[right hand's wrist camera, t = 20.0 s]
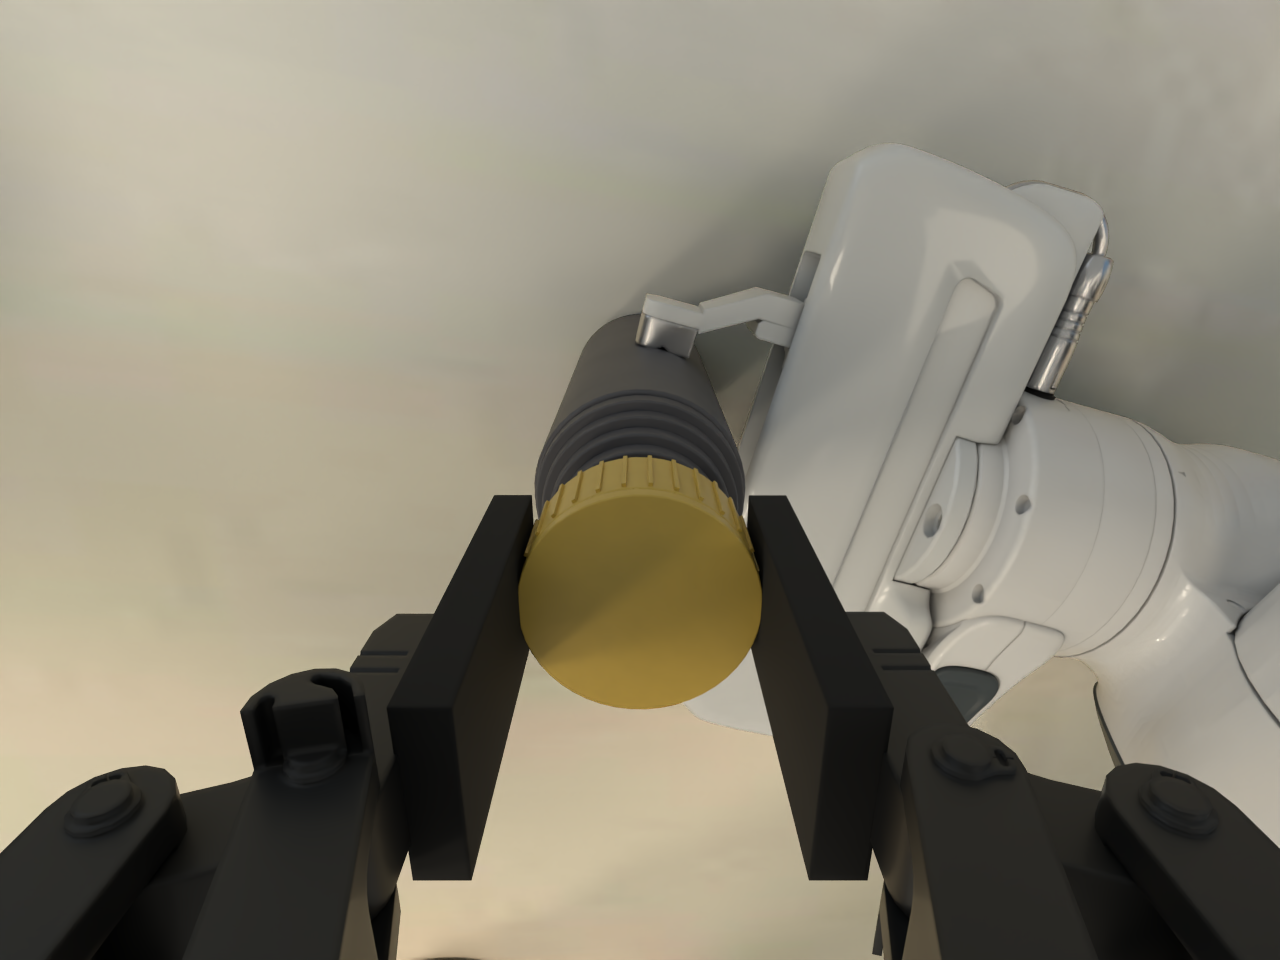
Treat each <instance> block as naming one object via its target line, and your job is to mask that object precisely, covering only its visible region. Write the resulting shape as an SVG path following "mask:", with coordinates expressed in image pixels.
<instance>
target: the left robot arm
mask: <svg viewBox="0 0 1280 960" xmlns="http://www.w3.org/2000/svg"><path fill="white" fill-rule="evenodd" d="M1092 241H1093V247H1092V252H1091V253H1087V252H1088V250H1089V248H1090V245H1091V243H1092ZM1108 243H1109V229H1108V223H1107V220H1106V218H1105V215H1104V212H1103V209H1102V207H1101V206H1100V205H1099V204H1098V203H1097V202H1095V201H1094V200H1093V199H1092V198H1090V197H1088V196H1087V195H1085V194H1083V193H1080V192H1077V191H1074V190H1071V189H1067V188H1064V187H1061V186H1058V185H1054V184H1051V183H1048V182H1045V181H1039V180H1027V181H1021V182H1017V183H1013V184H1011V185H1008V186H1006V187H1004V186H1002V185H1000V184H998V183H996V182H994V181H992V180H990V179H988V178H986V177H984V176H982V175H980V174H978V173H976V172H974V171H972V170H970V169H967V168H965V167H963V166H961V165H958V164H956V163H954V162H951V161H949V160H946V159H944V158H941V157H939V156H936V155H933V154H931V153H928V152H925V151H923V150H920V149H917V148H914V147H911V146H907V145H904V144H899V143H881V144H875V145H872V146H869V147H867V148H864V149H862V150H860V151H858V152H856V153H854V154H852V155H851V156H849V157H847V158H845V159H844V160H842V161H840V162H838V163H837V164H836V165H835V166H834V167H833V168H832V169H831V171H830V173H829V175H828V178H827V181H826V183H825V186H824V189H823V192H822V195H821V198H820V201H819V204H818V207H817V210H816V213H815V216H814V219H813V222H812V225H811V228H810V231H809V234H808V237H807V240H806V244H805V247H804V250H803V253H802V256H801V259H800V262H799V265H798V268H797V271H796V274H795V277H794V280H793V283H792V286H791V289H790V292H789V295H785V294H781V293H778V292H774V291H770V290H767V289H763V288H759V287H754V288H750V289H747V290H743V291H740V292H736V293H733V294H729V295H725V296H722V297H718V298H715V299H711V300H708V301H704V302H700V304H699V306H696V305H692V304H688V303H685V302H681V301H677V300H674V299H670V298H666V297H663V296H659V295H653V294H646V298H645V302H644V306H643V309H642V313H641V317H640V321H639V325H638V329H637V334H636V339H635V342H636V343H637V344H639V345H642V346H645V347H648V348H654V349H658V348H661V347H664V348H665V349H666V350H667V351H668V352H670V353H672V354H674V355H678V356H681V357H685V358H689V357H690V354H691V350H692V347H693V344H694V341H695V338H696V335H697V333H698V334H702V333H706V332H710V331H714V330H717V329H721V328H725V327H729V326H733V325H737V324H741V323H745V322H746V325H747V328H748V329H749V330H750V331H751V332H752V333H753V334H754V336H755V337H756V338H757V339H760V340H763V341H767V342H770V343H772V346H771V349H770V352H769V355H768V358H767V361H766V364H765V367H764V370H763V373H762V376H761V379H760V382H759V385H758V388H757V391H756V394H755V397H754V400H753V403H752V406H751V409H750V412H749V415H748V418H747V421H746V424H745V427H744V430H743V433H742V436H741V439H740V442H739V445H738V448H737V449H738V452H739V455H740V458H741V461H742V464H743V469H744V474H745V500H744V508H743V514H742V516H743V518H744V521H745V524H746V527H747V516H748V499H749V495H786V496H787V498H788V500H789V502H790V504H791V506H792V508H793V510H794V512H795V514H796V516H797V517H798V519H799V521H800V523H801V525H802V527H803V529H804V531H805V533H806V535H807V537H808V539H809V541H810V543H811V545H812V547H813V549H814V551H815V553H816V555H817V557H818V559H819V561H820V563H821V565H822V567H823V569H824V571H825V573H826V575H827V577H828V579H829V581H830V582H831V584H832V586H833V588H834V590H835V592H836V594H837V596H838V598H839V600H840V602H841V604H842V606H843V608H844V610H845V612H885V613H886V614H888V615H889V616H891V617H892V618H893V619H895V620H896V621H897V622H899V623H900V624H901V625H903V626H904V627H905V628H907V629H908V631H909V632H910V634H911V635H912V637H913V638H914V640H915V642H916V643H917V645H918V646H919V648H920V652H921V653H923V654H924V656H925V657H926V659H927V660H928V662H929V664H930V665H931V670H934V671H935V673H936V675H937V676H938V678H939V679H940V681H941V682H942V684H943V686H944V687H945V689H946V690H947V692H948V694H949V695H950V697H951V698H952V700H953V701H954V703H955V705H956V706H957V708H958V709H959V711H960V712H961V714H962V716H963V717H964V719H965V720H966V722H967V723H968V725H969V726H970V725H972V724H973V723H974V722H975V721H976V720H977V719H978V718H979V717H980V716H981V715H982V714H983V713H984V712H985V711H986V710H987V709H988V708H989V707H990V706H992V705H993V704H994V703H995V702H996V701H997V700H998V699H999V698H1000V697H1002V696H1003V695H1004V694H1005V693H1006V692H1007V691H1009V690H1010V689H1011V688H1012V687H1014V686H1015V685H1016V684H1017V683H1019V682H1020V681H1021V680H1022V679H1024V678H1025V677H1027V676H1028V675H1029V674H1031V673H1032V672H1034V671H1035V670H1036V669H1038V668H1039V667H1041V666H1042V665H1044V664H1045V663H1046V662H1047V661H1049V660H1050V659H1051V658H1052V657H1064V658H1071V659H1076V660H1079V661H1081V662H1083V663H1084V664H1085V665H1087V666H1088V667H1089V668H1090V669H1091V671H1092V672H1093V673H1094V674H1095V676H1096V678H1097V680H1098V682H1097V683H1095V685H1094V689H1093V694H1094V700H1095V706H1096V711H1097V715H1098V718H1099V722H1100V725H1101V728H1102V731H1103V734H1104V737H1105V740H1106V743H1107V747H1108V750H1109V752H1110V755H1111V758H1112V760H1113V763H1114V766H1115V767H1116V766H1120V765H1125V764H1131V763H1143V764H1152V765H1160V766H1163V767H1166V768H1169V769H1172V770H1175V771H1179V772H1182V773H1185V774H1188V775H1189V776H1191V777H1193V778H1195V779H1197V780H1199V781H1201V782H1203V783H1205V784H1207V785H1208V786H1210V787H1212V788H1214V789H1215V790H1217V791H1218V792H1219V793H1221V794H1222V795H1223V796H1224V797H1226V798H1227V799H1228V800H1229V801H1231V802H1232V803H1233V804H1235V805H1236V806H1237V807H1238V808H1239V809H1240V810H1241V811H1242V812H1243V813H1244V814H1245V815H1246V816H1247V817H1248V818H1249V819H1250V820H1251V821H1252V822H1253V823H1254V824H1255V825H1256V826H1257V827H1258V828H1259V829H1261V830H1262V831H1263V832H1264V833H1265V834H1266V835H1267V836H1268V837H1269V838H1270V839H1271V840H1272V841H1273V842H1274V843H1275V844H1276V845H1277V846H1278V847H1279V848H1280V460H1277V459H1274V458H1271V457H1267V456H1264V455H1261V454H1257V453H1253V452H1250V451H1247V450H1243V449H1239V448H1235V447H1231V446H1225V445H1217V444H1177V443H1174V442H1172V441H1170V440H1168V439H1167V438H1166V437H1164V436H1163V435H1162V434H1160V433H1158V432H1157V431H1155V430H1153V429H1152V428H1150V427H1148V426H1147V425H1145V424H1142V423H1140V422H1138V421H1135V420H1132V419H1130V418H1127V417H1124V416H1119V415H1116V414H1112V413H1109V412H1105V411H1101V410H1098V409H1094V408H1090V407H1087V406H1083V405H1079V404H1076V403H1072V402H1069V401H1065V400H1061V399H1058V398H1056V397H1054V396H1053V395H1054V393H1055V391H1056V389H1057V387H1058V385H1059V383H1060V381H1061V379H1062V376H1063V374H1064V372H1065V370H1066V368H1067V366H1068V364H1069V362H1070V360H1071V358H1072V356H1073V353H1074V351H1075V348H1076V346H1077V344H1078V343H1077V341H1078V340H1079V337H1080V334H1079V333H1080V332H1081V331H1082V329H1083V326H1082V325H1083V324H1084V323H1085V321H1086V319H1087V317H1086V316H1087V315H1089V313H1090V311H1091V309H1092V307H1093V305H1094V303H1095V302H1098V300H1099V299H1100V297H1101V295H1102V294H1103V292H1104V290H1105V288H1106V285H1107V283H1108V281H1109V278H1110V275H1111V272H1112V268H1113V263H1114V261H1113V260H1112V259H1111V258H1108V257H1105V256H1106V253H1107V249H1108ZM682 704H683V705H684V706H685V707H686V708H687V709H688V710H689V711H690V712H691V713H692V714H693V715H694V716H695V717H697V718H699V719H701V720H703V721H706V722H709V723H712V724H716V725H720V726H724V727H728V728H733V729H737V730H742V731H747V732H752V733H757V734H763V735H769V736H773V735H772V731H771V727H770V723H769V719H768V715H767V711H766V707H765V703H764V699H763V695H762V691H761V687H760V683H759V679H758V675H757V671H756V667H755V663H754V659H753V655H752V651H751V648H750V650H749V652H748V654H747V655H746V657H745V658H744V659H743V661H742V662H741V663H740V665H739V666H738V667H737V668H736V669H735V670H734V671H733V672H732V673H731V674H730V675H729V676H728V677H727V678H726V679H725V680H723V681H722V682H721V683H720V684H718V685H717V686H716V687H714V688H712V689H711V690H709V691H707V692H706V693H704V694H702V695H700V696H698V697H695V698H693V699H691V700H689V701H685V702H682Z"/></svg>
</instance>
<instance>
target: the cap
mask: <svg viewBox="0 0 1280 960" xmlns="http://www.w3.org/2000/svg"><path fill="white" fill-rule="evenodd" d="M753 552H755V551H754V548H753V545H752V542H751V539H750V536H749V533H748V530H747V527H746V524H745V521H744V518H743V516H742V515H741V516H739V515H738V513H737V511H736V508H735V505H734V502H733V499H732V498H731V497H729V498H728V497H727V496H726V495H725V494H724V493H723V492H722V491H721V490H720V489H719V488H718V484H717V482H716V481H713V482H711V481H710V480H709V479H707V478H706V477H705V476H703V475H701V474H700V473H699V472H698V469H696V468H694V469H691V468H688V467H686V466H683V465H681V464H679V463H676V460H673V459H672V460H671V461H668V460H664V459H657V458H652V455H648V457H631V458H628V456H623V458H622V459H617V460H612V461H608V462H605V463H604V461H600V462H599V465H596V466H594V467H591V468H589V469H587V470H586V471H584V472H582V470H580V471H579V472H578V474H577V476H575V477H574V478H573V479H571V480H570V481H568V482H567V483H566V484H565V485H564V484H561V485H560V486H559V489H558V491H557V493H556V494H555V495H554V496H553V497H552V499H551V500H550V501H548V500H547V501H546V502H545V504H544V507H543V510H542V513H541V516H540V519H539V520H537V519H536V520H535V523H534V526H533V529H532V532H531V535H530V538H529V541H528V544H527V547H526V550H525V553H524V556H525V557H526V560H525V563H524V566H523V569H522V572H521V576H520V580H519V584H518V597H519V612H520V625H521V630H522V633H523V636H524V639H525V641H526V643H527V645H528V647H529V648H530V650H531V652H532V654H533V655H534V657H535V658H536V659H537V661H538V662H539V664H540V665H541V666H542V667H543V668H544V669H545V670H546V671H547V672H548V673H549V675H551V676H552V677H553V678H554V679H555V680H557V681H558V682H559V683H560V684H561V685H563V686H565V687H566V688H568V689H569V690H571V691H572V692H574V693H576V694H578V695H580V696H582V697H584V698H586V699H589V700H592V701H595V702H597V703H600V704H604V705H609V706H613V707H619V708H627V709H653V708H662V707H667V706H672V705H676V704H679V703H682V702H685V701H689V700H691V699H693V698H695V697H698V696H700V695H702V694H704V693H706V692H707V691H709V690H711V689H712V688H714V687H716V686H717V685H718V684H720V683H721V682H722V681H723V680H725V679H726V678H727V677H728V676H729V675H730V674H731V673H732V672H733V671H734V670H735V669H736V668H737V667H738V666H739V665H740V663H741V662H742V661H743V659H744V658H745V657H746V655H747V654H748V652H749V650H750V648H751V647H752V645H753V643H754V640H755V638H756V635H757V633H758V630H759V626H760V619H761V605H762V586H761V581H760V576H759V568H758V565H757V562H756V559H755V556H754V553H753Z"/></svg>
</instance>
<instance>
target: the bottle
mask: <svg viewBox="0 0 1280 960" xmlns="http://www.w3.org/2000/svg"><path fill="white" fill-rule="evenodd" d="M640 317H641V315H640V314H637V315H628V316H624V317H620V318H618V319H615V320H613V321H611V322H609V323H607V324H606V325H604V326H603V327H601V328H600V329H599V330H598V331H597V332H596V333H595V334H594V335H593V336H592V337H591V338H590V339H589V341H588V342H587V344H586V345H585V347H584V349H583V351H582V354H581V356H580V358H579V361H578V363H577V366H576V368H575V371H574V373H573V376H572V378H571V381H570V383H569V386H568V388H567V390H566V393H565V395H564V398H563V400H562V403H561V405H560V408H559V410H558V413H557V415H556V418H555V420H554V423H553V425H552V427H551V430H550V432H549V435H548V437H547V440H546V442H545V445H544V447H543V450H542V452H541V455H540V457H539V461H538V465H537V468H536V475H535V499H536V508H537V514H538V519H540V516H541V513H542V510H543V507H544V504H545V502H546V501H547V500H548V501H550V500H551V499H552V497H553V496H554V495H555V494H556V493H557V491H558V489H559V486H560V485H561V484H564V485H565V484H566V483H567V482H568V481H570V480H571V479H573V478H574V477H575V476H577V474H578V472H579V471H580V470H582V472H584V471H586V470H587V469H589V468H591V467H594V466H596V465H599V462H600V461H604V463H605V462H608V461H612V460H617V459H622V458H623V456H628V458H631V457H648V455H652V458H657V459H664V460H668V461H671V460H672V459H673V460H676V463H679V464H681V465H683V466H686V467H688V468H691V469H694V468H696V469H698V472H699V473H700V474H701V475H703V476H705V477H706V478H707V479H709V480H710V481H711V482H713V481H716V482H717V484H718V488H719V489H720V490H721V491H722V492H723V493H724V494H725V495H726V496H727V497H728V498H729V497H731V498H732V499H733V502H734V505H735V508H736V511H737V513H738V515H739V516H741V515H742V514H743V508H744V500H745V474H744V469H743V464H742V461H741V458H740V455H739V452H738V449H737V447H736V444H735V442H734V439H733V437H732V435H731V432H730V430H729V427H728V425H727V422H726V420H725V417H724V415H723V412H722V410H721V407H720V405H719V402H718V400H717V397H716V395H715V393H714V390H713V388H712V385H711V383H710V380H709V378H708V375H707V373H706V370H705V368H704V365H703V363H702V360H701V358H700V355H699V353H698V351H697V349H696V347H695V345H694V344H693V347H692V350H691V354H690V357H689V358H685V357H681V356H678V355H674V354H672V353H670V352H668V351H667V350H666V349H665V348H664V347H661V348H658V349H654V348H648V347H645V346H642V345H639V344H637V343H636V342H635V339H636V334H637V329H638V325H639V321H640Z"/></svg>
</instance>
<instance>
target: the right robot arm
mask: <svg viewBox="0 0 1280 960" xmlns="http://www.w3.org/2000/svg"><path fill="white" fill-rule="evenodd" d="M533 526H534V525H533V508H532V495H494V497H493V499H492V501H491V503H490V505H489V507H488V509H487V511H486V513H485V515H484V517H483V519H482V520H481V522H480V524H479V526H478V528H477V530H476V532H475V534H474V536H473V538H472V540H471V542H470V544H469V546H468V548H467V550H466V552H465V554H464V556H463V558H462V560H461V562H460V564H459V566H458V568H457V570H456V572H455V574H454V576H453V578H452V580H451V582H450V584H449V585H448V587H447V589H446V591H445V593H444V595H443V597H442V599H441V601H440V603H439V605H438V607H437V609H436V611H435V613H434V614H396V615H395V616H393V617H392V618H391V619H389V620H388V621H387V622H385V623H384V624H382V625H381V626H380V627H378V628H377V629H376V630H374V631H373V633H372V634H371V636H370V637H369V639H368V640H367V642H366V644H365V645H364V647H363V648H362V650H361V654H360V656H357V658H356V660H355V661H354V663H353V664H352V666H351V667H350V672H347V671H343V670H340V669H312V670H307V671H303V672H299V673H294V674H291V675H288V676H286V677H284V678H281V679H279V680H277V681H274V682H272V683H270V684H268V685H267V686H265V687H264V688H263V689H261V690H260V691H258V692H257V693H256V694H254V695H253V696H251V698H250V699H249V700H248V702H247V703H246V704H245V706H244V707H243V708H242V710H241V711H240V714H241V718H242V722H243V726H244V730H245V734H246V738H247V742H248V746H249V751H250V755H251V759H252V763H253V767H254V772H253V774H252V776H251V777H248V778H245V779H241V780H238V781H235V782H231V783H227V784H223V785H218V786H214V787H209V788H205V789H201V790H196V791H192V792H188V793H183V794H180V793H179V790H178V787H177V783H176V780H175V778H174V777H173V776H172V775H171V774H170V773H168V772H167V771H166V770H165V769H162V768H157V767H151V766H137V767H129V768H121V769H118V770H115V771H112V772H109V773H106V774H103V775H100V776H97V777H94V778H92V779H90V780H88V781H86V782H85V783H83V784H81V785H79V786H77V787H75V788H73V789H71V790H69V791H68V792H66V793H65V794H64V795H63V796H61V797H60V798H59V799H57V800H56V801H55V802H54V803H52V804H51V805H50V806H49V807H47V808H46V809H45V810H44V811H43V812H42V813H41V814H40V815H39V816H38V817H37V818H36V819H35V820H34V821H33V822H32V823H31V824H30V825H29V826H28V827H27V828H26V829H25V830H24V831H23V832H22V833H21V834H20V835H19V836H18V837H16V838H15V839H14V840H13V841H12V842H11V843H10V844H9V845H8V846H7V847H6V848H5V849H4V850H3V851H2V852H1V853H0V960H396V955H397V944H398V934H399V923H400V913H401V910H400V903H399V896H398V890H397V884H396V883H397V880H398V877H399V875H400V872H401V869H402V866H403V864H404V861H405V858H406V855H407V853H408V851H409V857H410V864H411V870H412V877H413V880H472V876H473V872H474V868H475V864H476V860H477V856H478V852H479V848H480V844H481V840H482V836H483V832H484V828H485V824H486V820H487V816H488V812H489V808H490V804H491V800H492V796H493V792H494V788H495V784H496V780H497V776H498V772H499V768H500V764H501V761H502V757H503V753H504V749H505V745H506V741H507V737H508V733H509V729H510V725H511V721H512V717H513V713H514V709H515V705H516V701H517V697H518V693H519V689H520V685H521V681H522V677H523V673H524V669H525V665H526V661H527V657H528V653H529V649H530V648H529V647H528V645H527V643H526V641H525V639H524V636H523V633H522V630H521V625H520V612H519V597H518V584H519V580H520V576H521V572H522V569H523V566H524V563H525V560H526V557H525V556H524V553H525V550H526V547H527V544H528V541H529V538H530V535H531V532H532V529H533ZM747 530H748V533H749V536H750V539H751V542H752V545H753V548H754V551H755V552H753V553H754V556H755V559H756V562H757V565H758V568H759V576H760V581H761V586H762V605H761V619H760V626H759V630H758V633H757V635H756V638H755V640H754V643H753V645H752V647H751V651H752V655H753V659H754V663H755V667H756V671H757V675H758V679H759V683H760V687H761V691H762V695H763V699H764V703H765V707H766V711H767V715H768V719H769V723H770V727H771V731H772V735H773V739H774V743H775V747H776V751H777V755H778V759H779V763H780V767H781V771H782V775H783V779H784V783H785V787H786V791H787V794H788V798H789V802H790V806H791V810H792V814H793V818H794V822H795V826H796V830H797V834H798V838H799V842H800V846H801V850H802V854H803V858H804V862H805V866H806V870H807V874H808V878H809V880H868V873H869V867H870V861H871V854H872V848H873V850H874V853H875V856H876V859H877V861H878V864H879V867H880V870H881V872H882V875H883V878H884V884H883V890H882V896H881V902H880V908H879V914H878V920H877V926H876V932H875V938H874V945H873V952H872V954H875V955H879V956H882V950H883V953H884V960H1280V848H1279V847H1278V846H1277V845H1276V844H1275V843H1274V842H1273V841H1272V840H1271V839H1270V838H1269V837H1268V836H1267V835H1266V834H1265V833H1264V832H1263V831H1262V830H1261V829H1259V828H1258V827H1257V826H1256V825H1255V824H1254V823H1253V822H1252V821H1251V820H1250V819H1249V818H1248V817H1247V816H1246V815H1245V814H1244V813H1243V812H1242V811H1241V810H1240V809H1239V808H1238V807H1237V806H1236V805H1235V804H1233V803H1232V802H1231V801H1229V800H1228V799H1227V798H1226V797H1224V796H1223V795H1222V794H1221V793H1219V792H1218V791H1217V790H1215V789H1214V788H1212V787H1210V786H1208V785H1207V784H1205V783H1203V782H1201V781H1199V780H1197V779H1195V778H1193V777H1191V776H1189V775H1188V774H1185V773H1182V772H1179V771H1175V770H1172V769H1169V768H1166V767H1163V766H1160V765H1152V764H1143V763H1131V764H1125V765H1120V766H1116V767H1115V768H1114V769H1113V770H1112V771H1111V772H1110V773H1109V774H1107V775H1106V779H1105V782H1104V785H1103V789H1102V792H1101V791H1097V790H1093V789H1088V788H1084V787H1080V786H1075V785H1071V784H1066V783H1062V782H1058V781H1053V780H1049V779H1046V778H1043V777H1039V776H1036V775H1032V774H1030V773H1027V771H1026V768H1025V767H1024V765H1023V764H1022V762H1021V761H1020V759H1019V758H1018V756H1017V755H1016V753H1015V752H1013V751H1012V750H1011V749H1010V748H1008V747H1007V746H1006V745H1005V744H1004V743H1002V742H1001V741H1000V740H999V739H997V738H995V737H993V736H991V735H989V734H987V733H985V732H982V731H980V730H978V729H976V728H972V727H969V725H968V723H967V722H966V720H965V719H964V717H963V716H962V714H961V712H960V711H959V709H958V708H957V706H956V705H955V703H954V701H953V700H952V698H951V697H950V695H949V694H948V692H947V690H946V689H945V687H944V686H943V684H942V682H941V681H940V679H939V678H938V676H937V675H936V673H935V671H934V670H931V665H930V664H929V662H928V660H927V659H926V657H925V656H924V654H923V653H921V652H920V648H919V646H918V645H917V643H916V642H915V640H914V638H913V637H912V635H911V634H910V632H909V631H908V629H907V628H905V627H904V626H903V625H901V624H900V623H899V622H897V621H896V620H895V619H893V618H892V617H891V616H889V615H888V614H886V613H885V612H845V610H844V608H843V606H842V604H841V602H840V600H839V598H838V596H837V594H836V592H835V590H834V588H833V586H832V584H831V582H830V581H829V579H828V577H827V575H826V573H825V571H824V569H823V567H822V565H821V563H820V561H819V559H818V557H817V555H816V553H815V551H814V549H813V547H812V545H811V543H810V541H809V539H808V537H807V535H806V533H805V531H804V529H803V527H802V525H801V523H800V521H799V519H798V517H797V516H796V514H795V512H794V510H793V508H792V506H791V504H790V502H789V500H788V498H787V496H786V495H749V499H748V516H747Z"/></svg>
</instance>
